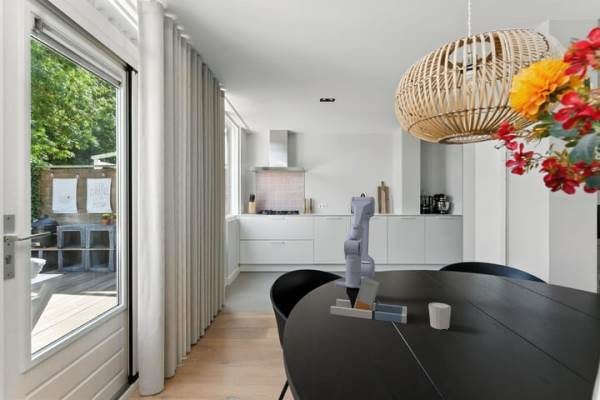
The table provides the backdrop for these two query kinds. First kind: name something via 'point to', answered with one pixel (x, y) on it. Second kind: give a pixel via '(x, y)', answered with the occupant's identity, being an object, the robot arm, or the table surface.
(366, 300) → the skincare box
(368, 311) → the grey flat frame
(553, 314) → the table surface
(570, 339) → the table surface
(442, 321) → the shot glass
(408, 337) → the table surface
